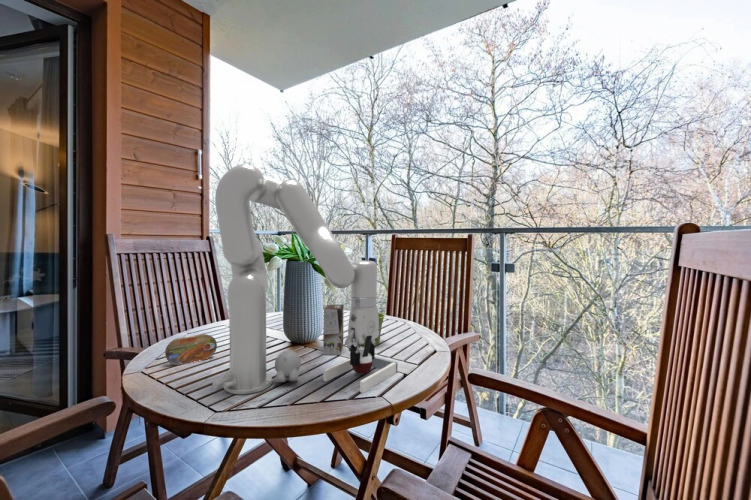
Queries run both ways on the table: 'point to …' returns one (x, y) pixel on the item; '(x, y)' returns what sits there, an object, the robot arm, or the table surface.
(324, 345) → the coffee box
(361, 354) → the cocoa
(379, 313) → the plant pot
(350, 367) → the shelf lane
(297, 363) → the chubby cartoon animal
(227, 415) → the table surface
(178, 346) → the tin
